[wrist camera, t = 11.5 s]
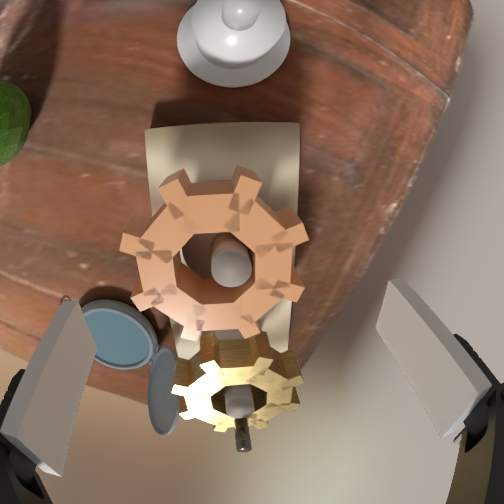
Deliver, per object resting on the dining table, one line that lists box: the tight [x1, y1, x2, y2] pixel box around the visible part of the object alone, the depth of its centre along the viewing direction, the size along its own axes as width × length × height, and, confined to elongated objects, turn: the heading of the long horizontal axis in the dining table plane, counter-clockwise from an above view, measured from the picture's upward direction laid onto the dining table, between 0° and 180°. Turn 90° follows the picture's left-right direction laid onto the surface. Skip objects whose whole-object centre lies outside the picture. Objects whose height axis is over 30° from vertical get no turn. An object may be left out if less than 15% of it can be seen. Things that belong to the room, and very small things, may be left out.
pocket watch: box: [81, 299, 180, 436], centre depth 26 cm, size 10×11×15 cm
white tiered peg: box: [177, 0, 290, 88], centre depth 15 cm, size 9×9×9 cm
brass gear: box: [172, 331, 304, 452], centre depth 21 cm, size 10×10×6 cm
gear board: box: [145, 122, 300, 418], centre depth 23 cm, size 25×12×12 cm, turn 0°
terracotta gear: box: [119, 165, 309, 342], centre depth 17 cm, size 10×10×3 cm
